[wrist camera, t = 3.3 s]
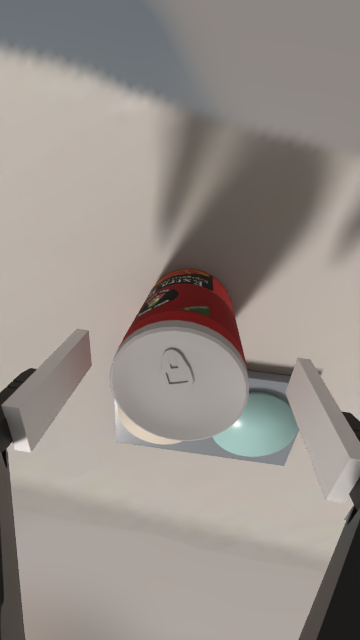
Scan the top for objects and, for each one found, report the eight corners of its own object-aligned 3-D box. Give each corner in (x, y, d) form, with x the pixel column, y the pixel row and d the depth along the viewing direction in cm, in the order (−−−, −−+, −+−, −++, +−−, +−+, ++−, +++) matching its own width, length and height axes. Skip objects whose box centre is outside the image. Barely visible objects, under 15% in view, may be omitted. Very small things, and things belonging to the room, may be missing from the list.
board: (119, 433, 32) (114, 446, 30) (116, 354, 27) (110, 364, 25) (281, 456, 31) (285, 470, 29) (312, 378, 26) (319, 391, 24)
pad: (204, 446, 30) (204, 450, 29) (216, 386, 26) (216, 390, 25) (282, 456, 29) (284, 461, 29) (307, 397, 25) (309, 402, 25)
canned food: (209, 250, 21) (212, 300, 11) (245, 328, 24) (272, 422, 14) (132, 289, 23) (78, 359, 13) (173, 356, 26) (154, 455, 16)
